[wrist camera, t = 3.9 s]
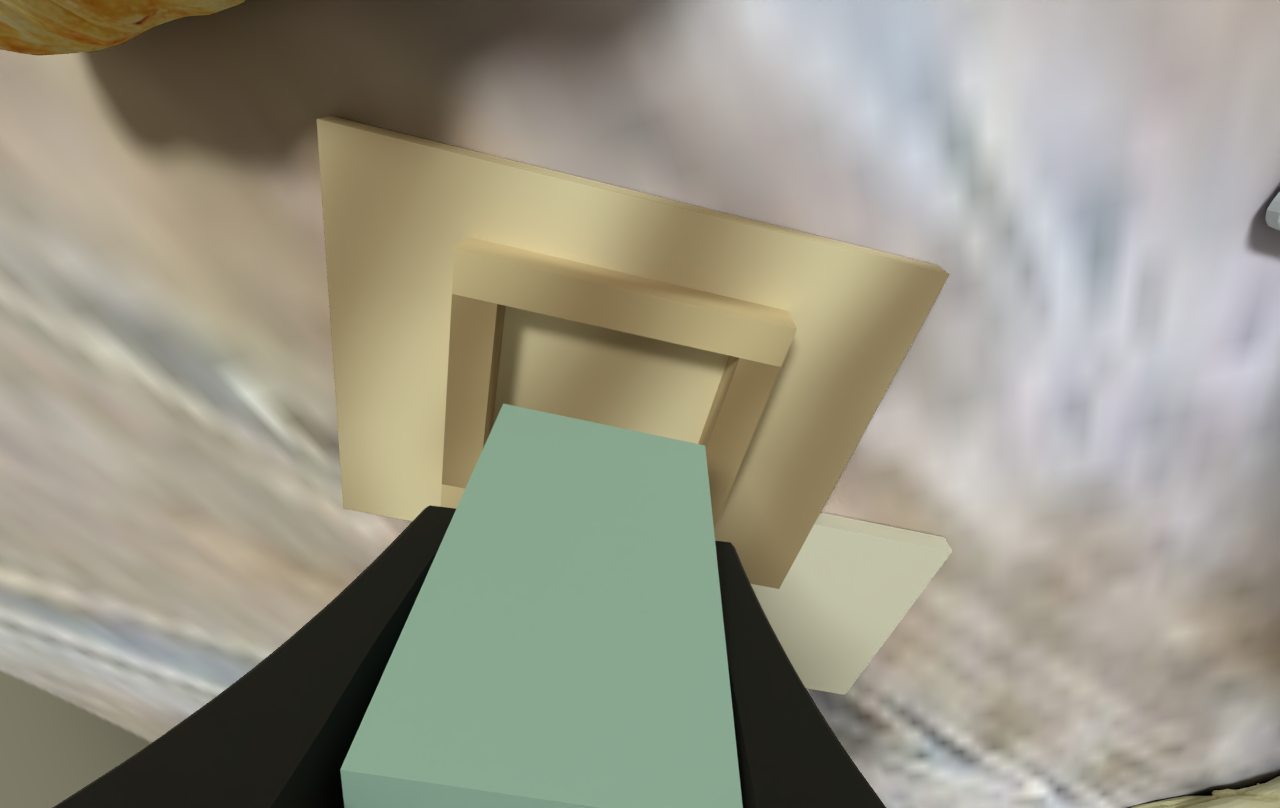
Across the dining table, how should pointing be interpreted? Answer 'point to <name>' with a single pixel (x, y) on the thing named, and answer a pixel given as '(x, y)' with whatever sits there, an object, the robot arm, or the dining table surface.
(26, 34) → the croissant
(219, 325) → the dining table surface
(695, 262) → the pocket board
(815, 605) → the coaster
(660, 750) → the block
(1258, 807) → the storage basket
